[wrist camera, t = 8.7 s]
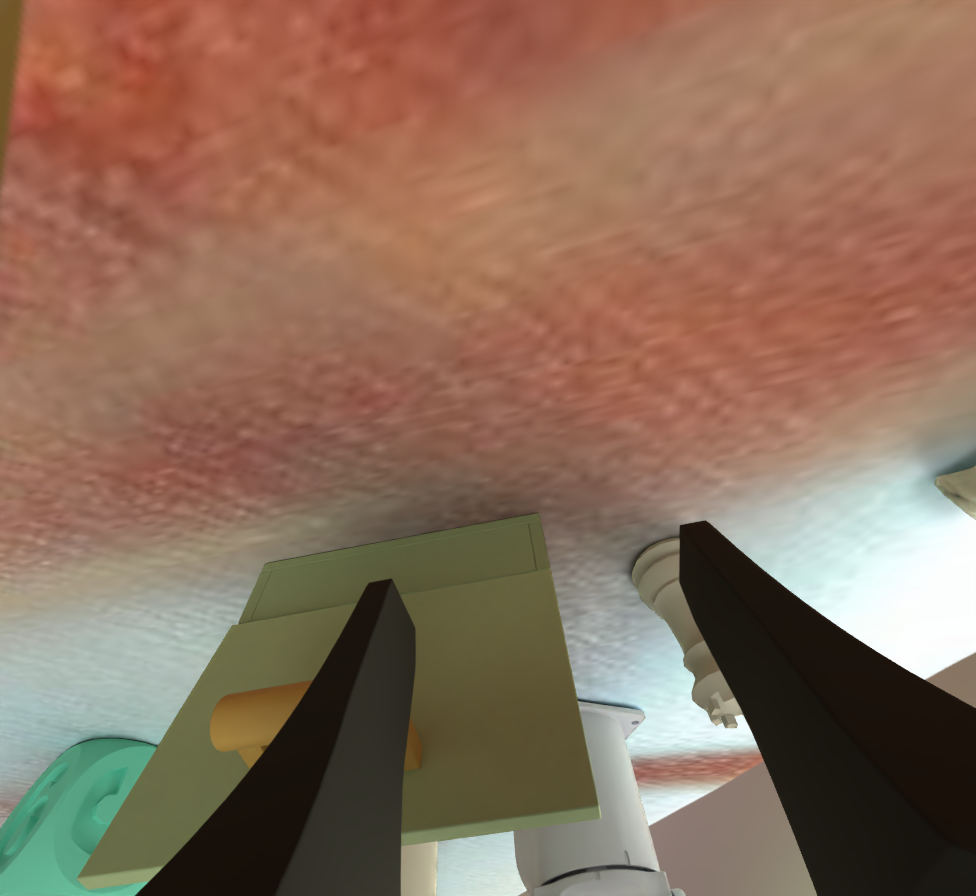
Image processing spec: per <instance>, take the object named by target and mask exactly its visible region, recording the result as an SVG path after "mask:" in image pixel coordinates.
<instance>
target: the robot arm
mask: <svg viewBox="0 0 976 896" xmlns="http://www.w3.org/2000/svg"><path fill="white" fill-rule="evenodd" d="M679 583H680V586H681V588H682V591H683V593H684V596H685V599H686V601H687V604H688V606H689V609H690V611H691V614H692V616H693V619H694V621H695V623H696V625H697V627H698V629H699V631H700V633H701V635H702V637H703V639H704V641H705V643H706V644H707V646H708V648H709V650H710V652H711V654H712V656H713V658H714V660H715V662H716V663H717V665H718V667H719V669H720V671H721V673H722V675H723V677H724V679H725V680H726V682H727V684H728V686H729V688H730V690H731V692H732V694H733V695H734V697H735V699H736V701H737V703H738V705H739V707H740V709H741V711H742V713H743V715H744V717H745V719H746V721H747V723H748V725H749V727H750V729H751V731H752V733H753V736H754V738H755V741H756V743H757V745H758V748H759V750H760V752H761V755H762V757H763V759H764V762H765V764H766V767H767V769H768V771H769V774H770V776H771V778H772V781H773V783H774V786H775V788H776V791H777V793H778V796H779V798H780V801H781V803H782V806H783V808H784V811H785V813H786V815H787V818H788V820H789V823H790V825H791V828H792V830H793V833H794V835H795V838H796V841H797V843H798V846H799V848H800V851H801V854H802V856H803V859H804V861H805V864H806V867H807V869H808V872H809V874H810V877H811V880H812V882H813V885H814V887H815V890H816V893H817V896H976V708H974V707H972V706H970V705H969V704H966V703H965V702H963V701H961V700H959V699H958V698H956V697H954V696H952V695H951V694H949V693H947V692H945V691H943V690H941V689H940V688H938V687H936V686H934V685H933V684H931V683H929V682H927V681H926V680H924V679H922V678H920V677H918V676H917V675H915V674H913V673H911V672H909V671H908V670H906V669H904V668H903V667H901V666H899V665H898V664H896V663H895V662H893V661H891V660H890V659H888V658H886V657H885V656H883V655H881V654H880V653H878V652H877V651H875V650H873V649H872V648H870V647H869V646H867V645H866V644H864V643H863V642H861V641H859V640H858V639H856V638H855V637H853V636H852V635H850V634H849V633H847V632H846V631H844V630H843V629H841V628H840V627H838V626H837V625H836V624H834V623H833V622H831V621H830V620H828V619H827V618H826V617H824V616H823V615H821V614H820V613H819V612H817V611H816V610H815V609H813V608H812V607H810V606H809V605H808V604H806V603H805V602H804V601H802V600H801V599H800V598H798V597H797V596H796V595H794V594H793V593H792V592H790V591H789V590H788V589H787V588H785V587H784V586H783V585H782V584H780V583H779V582H778V581H777V580H775V579H774V578H773V577H772V576H770V575H769V574H768V573H767V572H765V571H764V570H763V569H762V568H760V567H759V566H758V565H757V564H756V563H754V562H753V561H752V560H751V559H750V558H749V557H747V556H746V555H745V554H744V553H743V552H741V551H740V550H739V549H738V548H737V547H736V546H735V545H733V544H732V543H731V542H730V541H729V540H728V539H727V538H726V537H724V536H723V535H722V534H721V533H720V532H719V531H718V530H717V529H716V528H714V527H713V526H712V525H711V524H710V523H709V522H707V521H700V522H695V523H689V524H684V525H680V549H679ZM415 669H416V628H415V626H414V624H413V622H412V620H411V617H410V615H409V613H408V611H407V609H406V607H405V605H404V603H403V600H402V598H401V596H400V594H399V592H398V590H397V588H396V586H395V584H394V581H393V579H392V578H391V579H386V580H380V581H375V582H369V583H368V585H367V586H366V588H365V590H364V591H363V593H362V595H361V597H360V599H359V601H358V603H357V605H356V606H355V608H354V610H353V612H352V614H351V616H350V618H349V620H348V621H347V623H346V625H345V627H344V629H343V630H342V632H341V634H340V636H339V638H338V639H337V641H336V643H335V645H334V646H333V648H332V650H331V651H330V653H329V655H328V657H327V658H326V660H325V662H324V664H323V665H322V667H321V669H320V670H319V672H318V673H317V675H316V677H315V678H314V680H313V681H312V683H311V684H310V686H309V688H308V689H307V691H306V692H305V694H304V695H303V697H302V699H301V700H300V702H299V703H298V705H297V706H296V708H295V709H294V711H293V712H292V714H291V715H290V716H289V718H288V719H287V721H286V722H285V724H284V725H283V726H282V728H281V729H280V731H279V732H278V733H277V735H276V736H275V737H274V739H273V740H272V742H271V743H270V744H269V746H268V747H267V748H266V750H265V751H264V752H263V753H262V755H261V756H260V757H259V758H258V760H257V761H256V762H255V764H254V765H253V766H252V767H251V769H250V770H249V771H248V772H247V774H246V775H245V776H244V778H243V779H242V780H241V781H240V782H239V784H238V785H237V786H236V787H235V789H234V790H233V791H232V792H231V793H230V794H229V796H228V797H227V798H226V799H225V800H224V801H223V803H222V804H221V805H220V806H219V807H218V808H217V809H216V810H215V812H214V813H213V814H212V815H211V816H210V817H209V818H208V819H207V821H206V822H205V823H204V824H203V825H202V826H201V827H200V828H199V830H198V831H197V832H196V833H195V834H194V835H193V836H192V837H191V838H190V840H189V841H188V842H187V843H186V844H185V845H184V846H183V847H182V848H181V849H180V850H179V851H178V852H177V853H176V855H175V856H174V857H173V858H172V859H171V860H170V861H169V862H168V863H167V864H166V865H165V866H164V867H163V868H162V869H161V870H160V871H159V872H158V873H157V874H156V875H155V876H154V877H153V878H152V879H151V880H150V881H149V882H148V883H147V884H146V885H145V886H144V887H143V888H142V889H141V890H140V891H139V892H138V893H137V894H136V895H135V896H401V827H402V794H403V776H404V763H405V755H406V746H407V738H408V730H409V721H410V713H411V705H412V696H413V687H414V678H415ZM578 704H579V709H580V714H581V718H582V723H583V728H584V733H585V738H586V743H587V747H588V752H589V757H590V762H591V767H592V772H593V777H594V781H595V786H596V791H597V796H598V801H599V806H600V811H601V819H596V820H588V821H581V822H574V823H567V824H559V825H552V826H545V827H538V828H531V829H523V830H516V831H514V844H515V857H516V863H517V868H518V871H519V874H520V877H521V879H522V882H523V884H524V885H525V887H526V889H527V891H528V892H529V893H530V895H531V896H686V895H685V893H684V892H683V891H682V890H681V889H679V888H677V889H671V890H670V887H669V883H668V880H667V876H666V873H665V872H664V871H660V868H659V864H658V861H657V857H656V853H655V849H654V846H653V842H652V838H651V835H650V831H649V827H648V823H647V820H646V816H645V812H644V808H643V805H642V801H641V797H640V794H639V790H638V786H637V782H636V779H635V775H634V771H633V768H632V764H631V760H630V756H629V753H628V749H627V745H626V742H625V740H626V739H627V738H628V737H629V736H630V734H631V733H632V732H633V731H634V730H635V729H636V728H637V727H638V726H639V725H640V724H641V723H642V722H643V721H644V719H645V715H644V712H643V711H641V710H636V709H629V708H622V707H615V706H608V705H601V704H594V703H587V702H580V701H578Z"/></svg>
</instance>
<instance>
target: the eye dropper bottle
mask: <svg viewBox="0 0 976 896" xmlns="http://www.w3.org/2000/svg"><path fill="white" fill-rule="evenodd" d="M437 857H438V841H437V842H429V843H422V844H415V845H408V846H401V896H436V887H437Z"/></svg>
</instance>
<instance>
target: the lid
mask: <svg viewBox="0 0 976 896" xmlns="http://www.w3.org/2000/svg"><path fill="white" fill-rule="evenodd" d="M401 598H402V600H403V603H404V605H405V607H406V609H407V611H408V613H409V615H410V617H411V620H412V622H413V624H414V626H415V628H416V669H415V678H414V687H413V696H412V705H411V713H410V721H409V730H408V738H407V746H406V755H405V763H404V776H403V794H402V827H401V846H408V845H415V844H422V843H429V842H437V841H444V840H451V839H458V838H466V837H473V836H480V835H487V834H494V833H502V832H509V831H516V830H523V829H531V828H538V827H545V826H552V825H559V824H567V823H574V822H581V821H588V820H596V819H601V811H600V806H599V801H598V796H597V791H596V786H595V781H594V777H593V772H592V767H591V762H590V757H589V752H588V747H587V743H586V738H585V733H584V728H583V723H582V718H581V714H580V709H579V704H578V699H577V694H576V689H575V684H574V680H573V675H572V670H571V665H570V660H569V655H568V651H567V646H566V641H565V636H564V631H563V626H562V621H561V617H560V612H559V607H558V602H557V597H556V592H555V588H554V583H553V578H552V573H551V570H550V569H548V570H542V571H537V572H531V573H525V574H520V575H514V576H508V577H503V578H497V579H491V580H486V581H480V582H474V583H469V584H463V585H458V586H452V587H446V588H441V589H435V590H429V591H424V592H418V593H412V594H407V595H401ZM356 605H357V603H356V604H350V605H345V606H339V607H333V608H328V609H322V610H317V611H311V612H305V613H300V614H294V615H288V616H283V617H277V618H271V619H266V620H260V621H254V622H249V623H243V624H238V625H233V626H231V628H230V630H229V631H228V633H227V634H226V636H225V638H224V639H223V641H222V643H221V644H220V646H219V647H218V649H217V651H216V652H215V654H214V656H213V657H212V659H211V660H210V662H209V664H208V665H207V667H206V669H205V670H204V672H203V673H202V675H201V677H200V678H199V680H198V682H197V683H196V685H195V687H194V688H193V690H192V691H191V693H190V695H189V696H188V698H187V700H186V701H185V703H184V704H183V706H182V708H181V709H180V711H179V713H178V714H177V716H176V717H175V719H174V721H173V722H172V724H171V726H170V727H169V729H168V730H167V732H166V734H165V735H164V737H163V739H162V740H161V742H160V744H159V745H158V747H157V748H156V750H155V752H154V753H153V755H152V757H151V758H150V760H149V761H148V763H147V765H146V766H145V768H144V770H143V771H142V773H141V774H140V776H139V778H138V779H137V781H136V783H135V784H134V786H133V788H132V789H131V791H130V792H129V794H128V796H127V797H126V799H125V801H124V802H123V804H122V805H121V807H120V809H119V810H118V812H117V814H116V815H115V817H114V818H113V820H112V822H111V823H110V825H109V827H108V828H107V830H106V831H105V833H104V835H103V836H102V838H101V840H100V841H99V843H98V845H97V846H96V848H95V849H94V851H93V853H92V854H91V856H90V858H89V859H88V861H87V862H86V864H85V866H84V867H83V869H82V871H81V872H80V874H79V875H78V877H77V880H78V881H79V882H80V883H81V884H82V885H83V886H84V887H85V888H86V889H88V890H90V889H97V888H105V887H112V886H119V885H126V884H133V883H141V882H148V881H150V880H151V879H152V878H153V877H154V876H155V875H156V874H157V873H158V872H159V871H160V870H161V869H162V868H163V867H164V866H165V865H166V864H167V863H168V862H169V861H170V860H171V859H172V858H173V857H174V856H175V855H176V853H177V852H178V851H179V850H180V849H181V848H182V847H183V846H184V845H185V844H186V843H187V842H188V841H189V840H190V838H191V837H192V836H193V835H194V834H195V833H196V832H197V831H198V830H199V828H200V827H201V826H202V825H203V824H204V823H205V822H206V821H207V819H208V818H209V817H210V816H211V815H212V814H213V813H214V812H215V810H216V809H217V808H218V807H219V806H220V805H221V804H222V803H223V801H224V800H225V799H226V798H227V797H228V796H229V794H230V793H231V792H232V791H233V790H234V789H235V787H236V786H237V785H238V784H239V782H240V781H241V780H242V779H243V778H244V776H245V775H246V774H247V772H248V771H249V770H250V769H251V767H252V766H253V765H254V764H255V762H256V761H257V760H258V758H259V757H260V756H261V755H262V753H263V752H264V751H265V750H266V748H267V747H268V746H269V744H270V743H271V742H272V740H273V739H274V737H275V736H276V735H277V733H278V732H279V731H280V729H281V728H282V726H283V725H284V724H285V722H286V721H287V719H288V718H289V716H290V715H291V714H292V712H293V711H294V709H295V708H296V706H297V705H298V703H299V702H300V700H301V699H302V697H303V695H304V694H305V692H306V691H307V689H308V688H309V686H310V684H311V683H312V681H313V680H314V678H315V677H316V675H317V673H318V672H319V670H320V669H321V667H322V665H323V664H324V662H325V660H326V658H327V657H328V655H329V653H330V651H331V650H332V648H333V646H334V645H335V643H336V641H337V639H338V638H339V636H340V634H341V632H342V630H343V629H344V627H345V625H346V623H347V621H348V620H349V618H350V616H351V614H352V612H353V610H354V608H355V606H356Z"/></svg>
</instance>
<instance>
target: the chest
mask: <svg viewBox="0 0 976 896" xmlns="http://www.w3.org/2000/svg"><path fill="white" fill-rule="evenodd" d="M548 569H550V564H549V559H548V554H547V549H546V544H545V539H544V534H543V529H542V524H541V520H540V515H539V513H535V514H530V515H524V516H519V517H514V518H508V519H503V520H498V521H492V522H487V523H481V524H476V525H471V526H465V527H460V528H455V529H449V530H444V531H438V532H433V533H428V534H422V535H417V536H412V537H406V538H401V539H395V540H390V541H385V542H379V543H374V544H369V545H363V546H358V547H352V548H347V549H342V550H336V551H331V552H326V553H320V554H315V555H309V556H304V557H299V558H293V559H288V560H283V561H277V562H272V563H266V564H265V565H264V567H263V570H262V573H261V574H260V576H259V578H258V580H257V583H256V585H255V587H254V589H253V591H252V594H251V596H250V598H249V600H248V602H247V605H246V607H245V609H244V611H243V614H242V616H241V618H240V620H239V622H238V623H239V624H243V623H249V622H254V621H260V620H266V619H271V618H277V617H283V616H288V615H294V614H300V613H305V612H311V611H317V610H322V609H328V608H333V607H339V606H345V605H350V604H356V603H358V601H359V599H360V597H361V595H362V593H363V591H364V590H365V588H366V586H367V585H368V583H369V582H375V581H380V580H386V579H391V578H392V579H393V581H394V584H395V586H396V588H397V590H398V592H399V594H400V596H401V595H407V594H412V593H418V592H424V591H429V590H435V589H441V588H446V587H452V586H458V585H463V584H469V583H474V582H480V581H486V580H491V579H497V578H503V577H508V576H514V575H520V574H525V573H531V572H537V571H542V570H548ZM550 570H551V569H550Z"/></svg>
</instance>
